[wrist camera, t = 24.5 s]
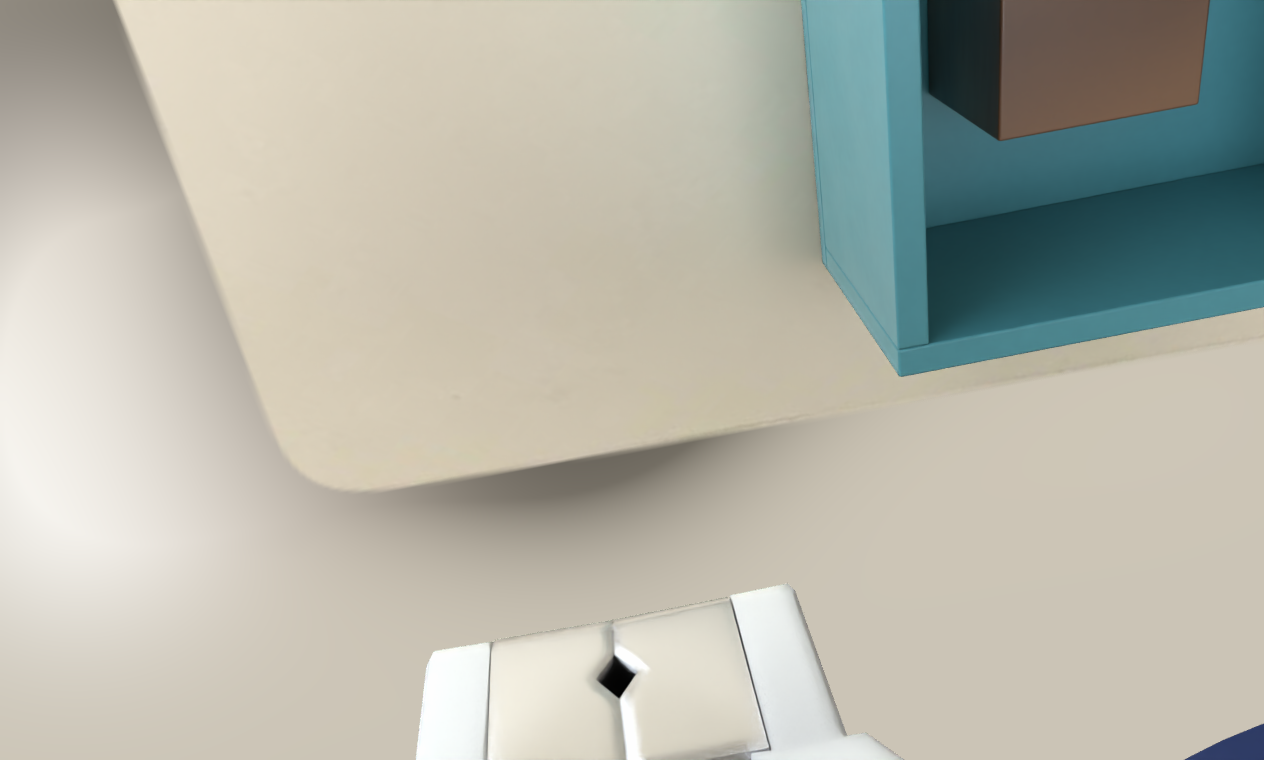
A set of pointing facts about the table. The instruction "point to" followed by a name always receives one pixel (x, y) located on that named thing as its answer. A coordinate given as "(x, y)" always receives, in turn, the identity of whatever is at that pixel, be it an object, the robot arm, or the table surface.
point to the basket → (1028, 198)
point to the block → (1063, 60)
